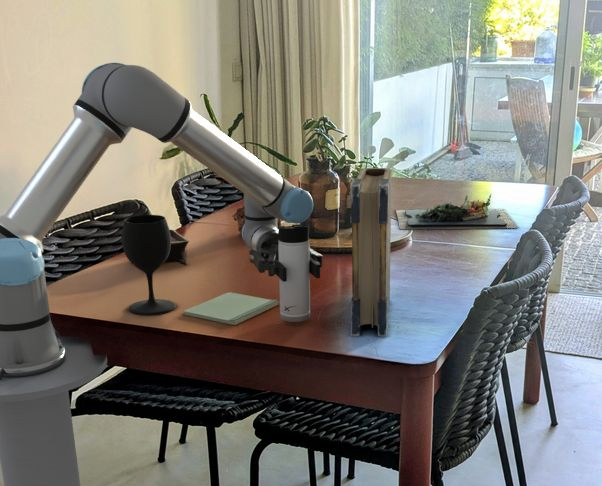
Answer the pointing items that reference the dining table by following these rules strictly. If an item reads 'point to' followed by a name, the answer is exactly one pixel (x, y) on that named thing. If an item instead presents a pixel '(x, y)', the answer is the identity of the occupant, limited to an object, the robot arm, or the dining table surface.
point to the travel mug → (294, 272)
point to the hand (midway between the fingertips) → (301, 273)
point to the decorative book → (370, 249)
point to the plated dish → (455, 217)
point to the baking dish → (177, 248)
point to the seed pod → (241, 218)
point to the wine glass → (147, 256)
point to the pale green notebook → (231, 308)
